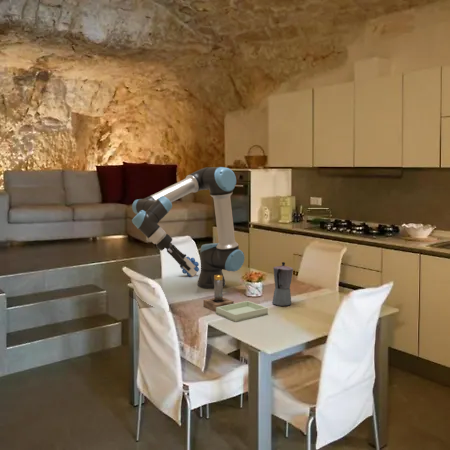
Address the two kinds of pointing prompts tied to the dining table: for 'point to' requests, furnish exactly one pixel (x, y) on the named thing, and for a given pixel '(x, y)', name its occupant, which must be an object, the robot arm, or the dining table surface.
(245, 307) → the tray
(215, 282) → the grey bottle
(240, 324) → the dining table surface
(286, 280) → the moka pot
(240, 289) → the dining table surface
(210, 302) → the socket block
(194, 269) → the grapes
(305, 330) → the dining table surface
